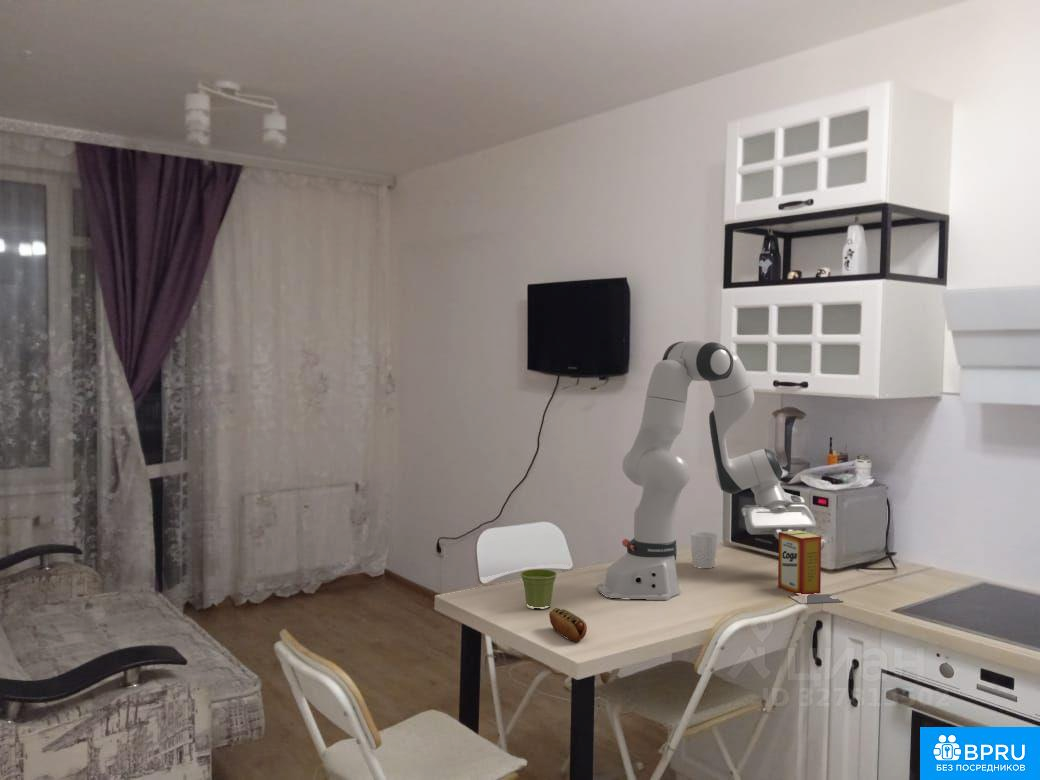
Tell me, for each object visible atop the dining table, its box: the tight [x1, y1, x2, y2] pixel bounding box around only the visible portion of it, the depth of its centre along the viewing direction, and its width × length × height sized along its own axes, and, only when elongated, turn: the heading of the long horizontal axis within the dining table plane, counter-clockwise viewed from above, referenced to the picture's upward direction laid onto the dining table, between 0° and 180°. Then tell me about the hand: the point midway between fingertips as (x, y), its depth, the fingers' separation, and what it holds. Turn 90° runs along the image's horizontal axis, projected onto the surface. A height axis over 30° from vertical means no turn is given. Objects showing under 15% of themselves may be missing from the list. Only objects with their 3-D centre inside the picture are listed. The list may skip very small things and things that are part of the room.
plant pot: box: [520, 568, 558, 607], centre depth 213 cm, size 9×9×9 cm
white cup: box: [690, 531, 718, 569], centre depth 257 cm, size 8×8×10 cm
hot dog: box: [548, 607, 588, 642], centre depth 191 cm, size 5×13×5 cm, turn 24°
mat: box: [806, 593, 844, 605], centre depth 221 cm, size 12×7×1 cm, turn 99°
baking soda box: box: [777, 530, 822, 595], centre depth 229 cm, size 10×6×16 cm
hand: (788, 544), depth 236 cm, fingers closed
